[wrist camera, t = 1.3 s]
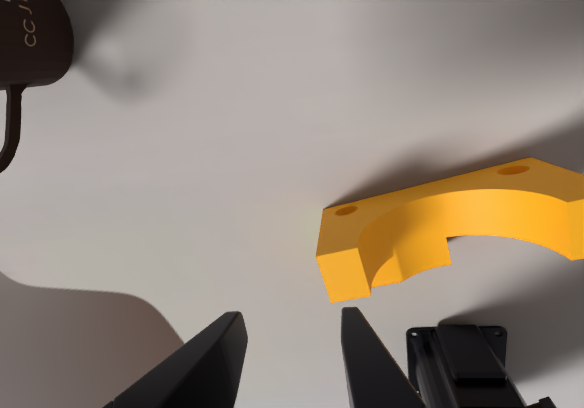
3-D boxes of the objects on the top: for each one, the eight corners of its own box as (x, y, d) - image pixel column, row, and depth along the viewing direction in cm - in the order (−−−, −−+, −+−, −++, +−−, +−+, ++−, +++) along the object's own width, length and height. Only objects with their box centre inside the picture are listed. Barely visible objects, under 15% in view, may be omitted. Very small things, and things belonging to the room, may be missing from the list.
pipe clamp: (340, 265, 21) (340, 331, 15) (323, 208, 20) (315, 256, 14) (535, 225, 19) (629, 288, 13) (528, 156, 17) (627, 189, 11)
